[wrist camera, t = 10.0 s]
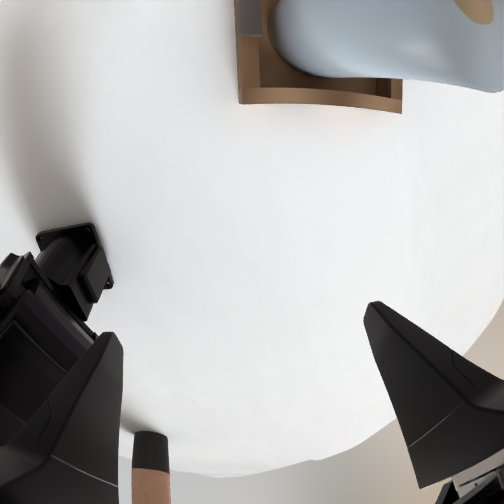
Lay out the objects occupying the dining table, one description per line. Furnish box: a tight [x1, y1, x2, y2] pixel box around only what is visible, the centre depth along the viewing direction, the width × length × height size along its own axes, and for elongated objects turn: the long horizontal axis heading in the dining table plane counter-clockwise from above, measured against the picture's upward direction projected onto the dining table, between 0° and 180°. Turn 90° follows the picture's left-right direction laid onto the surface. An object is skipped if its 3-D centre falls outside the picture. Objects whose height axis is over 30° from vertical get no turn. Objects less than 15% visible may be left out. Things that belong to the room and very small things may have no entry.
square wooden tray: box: [234, 0, 402, 114], centre depth 12 cm, size 11×11×4 cm
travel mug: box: [132, 431, 171, 504], centre depth 35 cm, size 8×8×20 cm
